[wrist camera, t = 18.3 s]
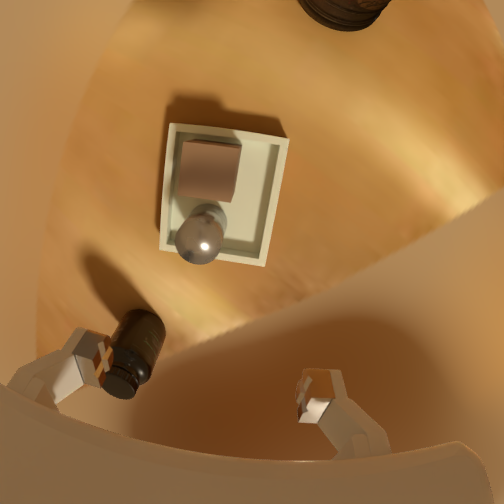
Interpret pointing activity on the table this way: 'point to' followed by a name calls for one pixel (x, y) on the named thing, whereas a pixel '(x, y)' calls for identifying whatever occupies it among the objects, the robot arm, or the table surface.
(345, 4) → the container
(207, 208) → the metal cylinder
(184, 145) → the walnut block
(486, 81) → the table surface
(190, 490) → the robot arm
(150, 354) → the supplement bottle
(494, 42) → the table surface
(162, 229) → the tray
